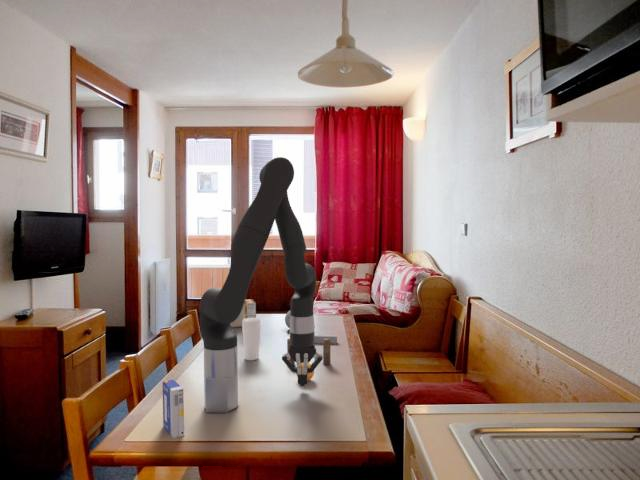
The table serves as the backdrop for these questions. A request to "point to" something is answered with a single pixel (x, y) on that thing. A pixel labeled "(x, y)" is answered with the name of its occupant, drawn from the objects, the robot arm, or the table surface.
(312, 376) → the ball
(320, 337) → the gray bar
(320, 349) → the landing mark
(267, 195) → the robot arm
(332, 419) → the table surface
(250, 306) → the candy box
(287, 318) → the decorative stone
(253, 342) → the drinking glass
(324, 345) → the post right
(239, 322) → the travel mug
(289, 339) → the post left
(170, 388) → the blue and white carton
